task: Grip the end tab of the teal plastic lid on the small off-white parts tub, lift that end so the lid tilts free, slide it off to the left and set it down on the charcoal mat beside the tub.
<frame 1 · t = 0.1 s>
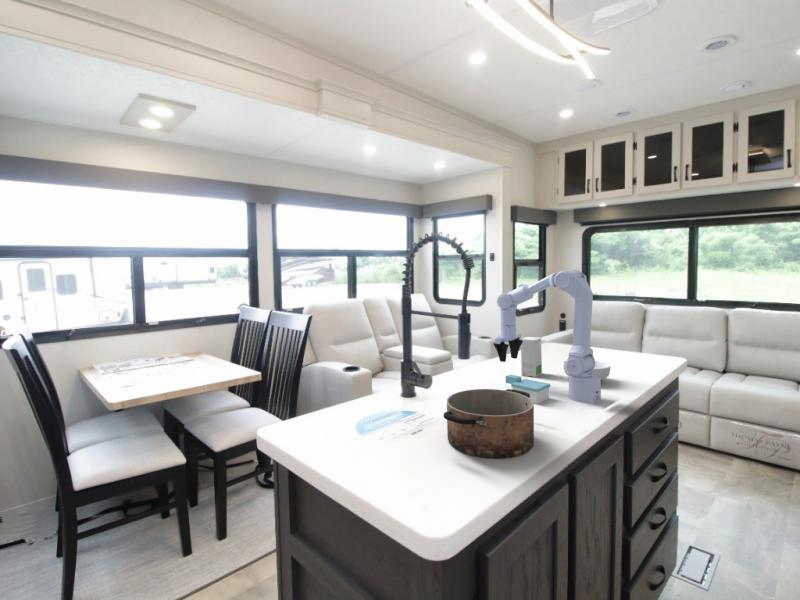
hand: (508, 359, 158), 10 cm above the counter, tool pointing down, fingers open, 7 cm apart
cereal bowl: (586, 381, 161), on the counter
skincare box: (531, 374, 174), on the counter
gold rounded piece: (536, 398, 139), point 1 cm above the counter, touching tub
lid: (530, 386, 139), point 5 cm above the counter, touching tub
mat: (511, 400, 141), on the counter
steel block: (524, 397, 140), point 1 cm above the counter, touching tub
tub: (530, 399, 140), resting on mat
cooking pot: (489, 441, 109), on the counter
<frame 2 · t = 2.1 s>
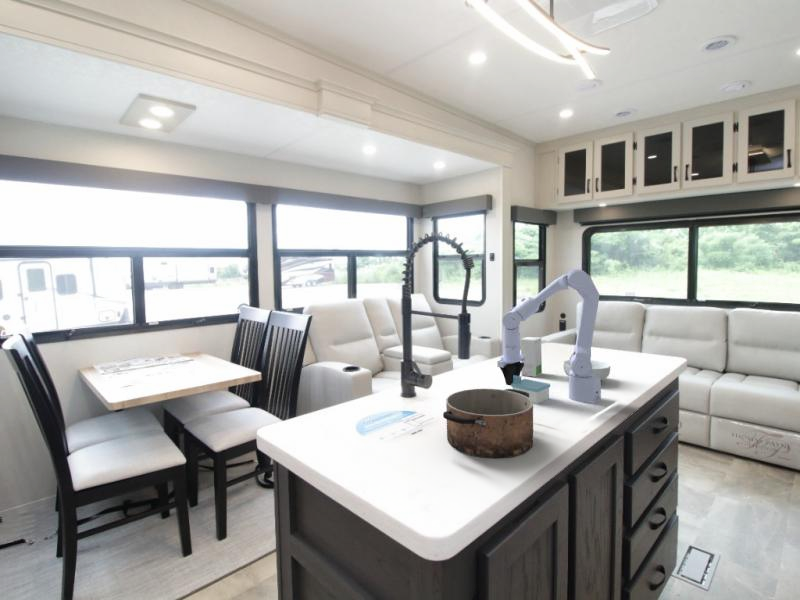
hand: (512, 383, 145), 4 cm above the counter, tool pointing down, fingers closed on lid, 3 cm apart
lid: (530, 386, 139), point 5 cm above the counter, touching gripper, tub
everything else where it was.
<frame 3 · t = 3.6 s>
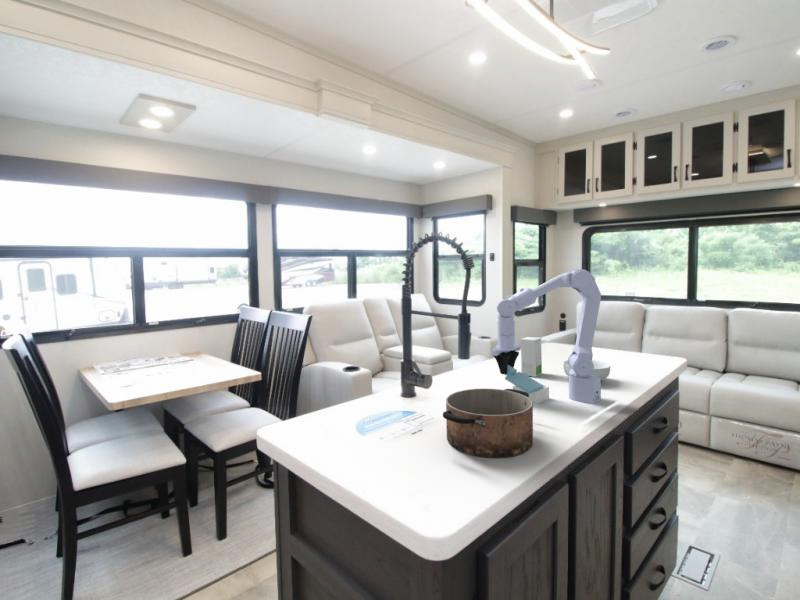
hand: (506, 372, 142), 9 cm above the counter, tool pointing down, fingers closed on lid, 3 cm apart
lid: (523, 383, 138), point 6 cm above the counter, tilted 20°, touching gripper
everything else where it was.
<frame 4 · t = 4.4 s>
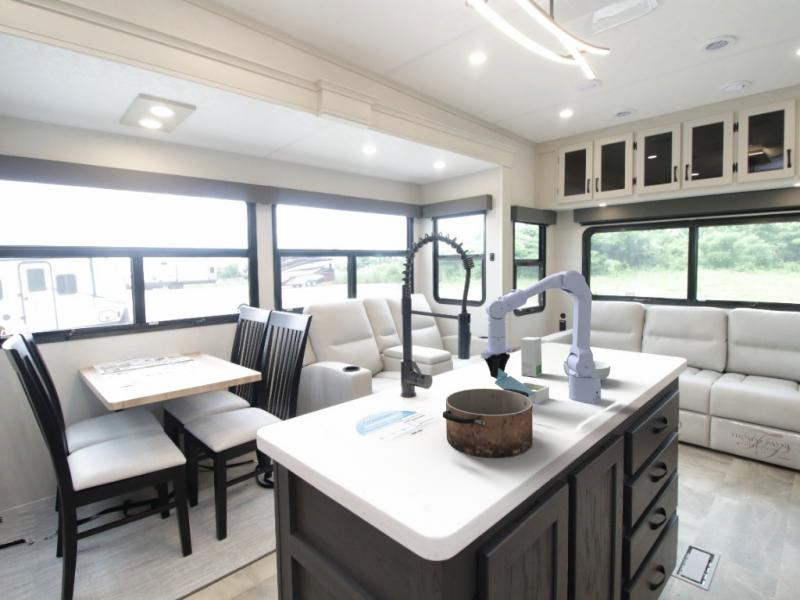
hand: (497, 376, 139), 9 cm above the counter, tool pointing down, fingers closed on lid, 3 cm apart
lid: (513, 388, 134), point 6 cm above the counter, tilted 23°, touching gripper
everything else where it was.
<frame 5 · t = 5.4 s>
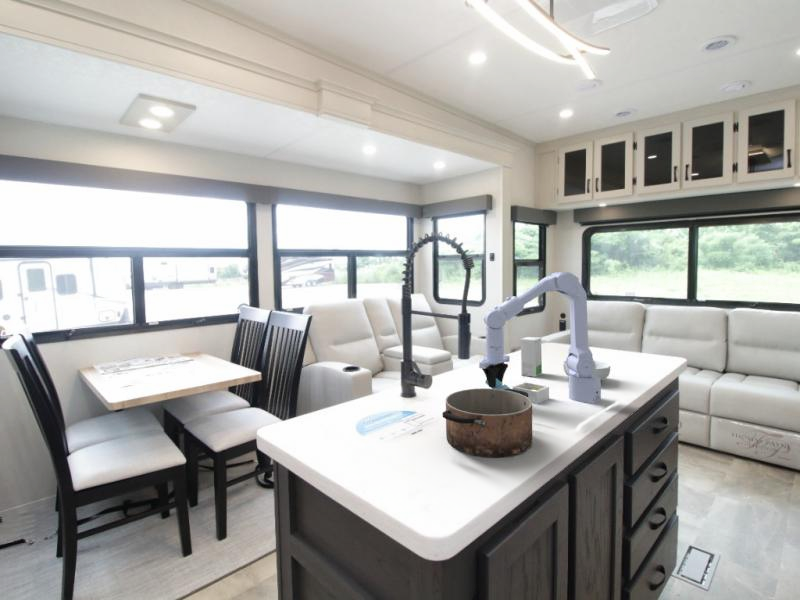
hand: (495, 386, 138), 6 cm above the counter, tool pointing down, fingers closed on lid, 3 cm apart
lid: (507, 398, 135), point 3 cm above the counter, tilted 28°, touching gripper
everything else where it was.
when the fingers open (5 cm above the counter, at t = 5.9 s): lid drops 2 cm, resting on mat.
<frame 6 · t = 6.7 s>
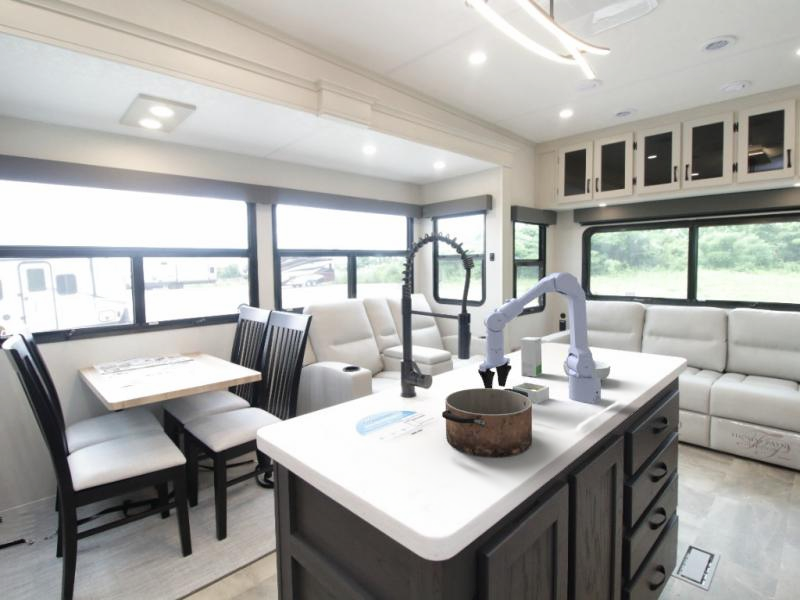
hand: (495, 388, 138), 5 cm above the counter, tool pointing down, fingers open, 7 cm apart
lid: (507, 404, 135), resting on mat
everything else where it was.
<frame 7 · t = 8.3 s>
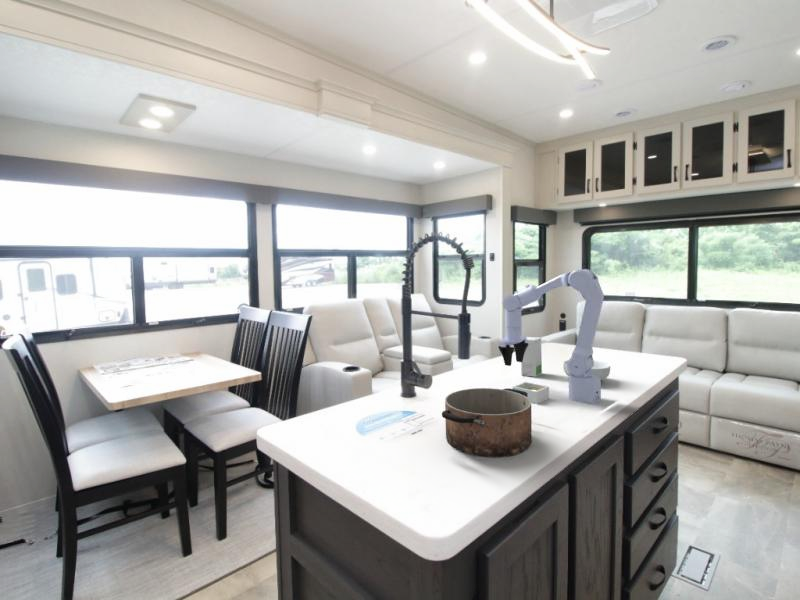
hand: (513, 363, 152), 10 cm above the counter, tool pointing down, fingers open, 7 cm apart
nothing on the counter moved.
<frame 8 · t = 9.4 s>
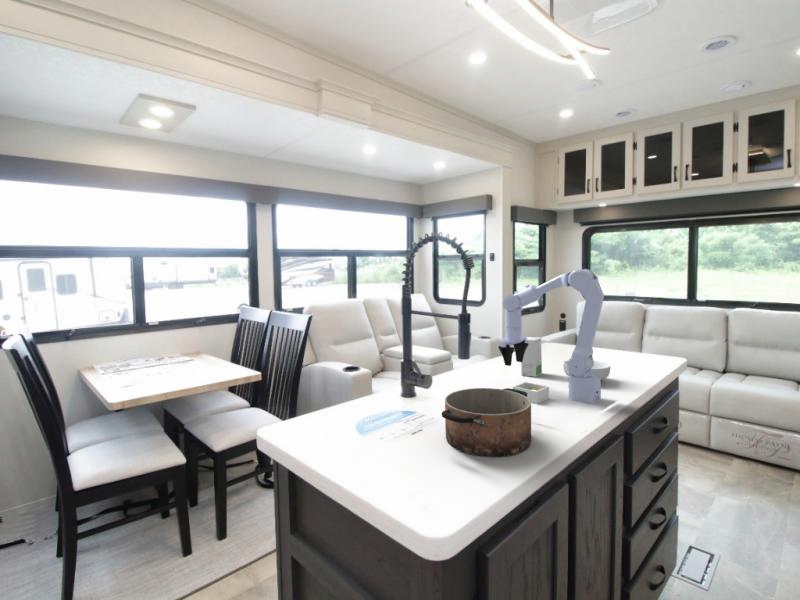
hand: (513, 363, 152), 10 cm above the counter, tool pointing down, fingers open, 7 cm apart
nothing on the counter moved.
at the end: lid touching mat; lid inside the target area (2.3 cm from its centre), resting on mat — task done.
